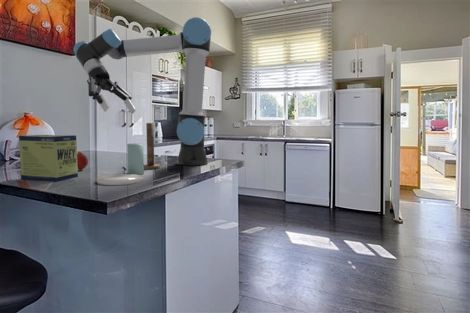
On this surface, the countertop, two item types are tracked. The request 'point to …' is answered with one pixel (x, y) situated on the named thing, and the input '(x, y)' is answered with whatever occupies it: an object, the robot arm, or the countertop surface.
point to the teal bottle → (135, 158)
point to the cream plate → (119, 179)
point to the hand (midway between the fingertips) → (120, 110)
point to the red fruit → (81, 161)
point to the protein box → (48, 157)
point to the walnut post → (150, 148)
